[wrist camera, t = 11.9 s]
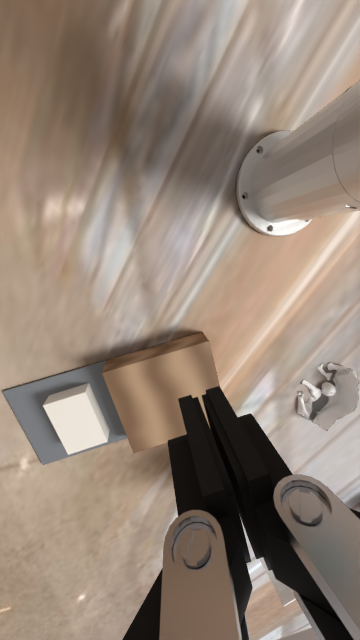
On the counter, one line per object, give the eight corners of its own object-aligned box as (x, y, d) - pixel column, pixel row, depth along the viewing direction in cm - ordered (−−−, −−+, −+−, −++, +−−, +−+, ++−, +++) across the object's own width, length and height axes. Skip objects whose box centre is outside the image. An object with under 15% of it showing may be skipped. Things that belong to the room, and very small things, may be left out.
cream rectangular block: (42, 405, 34) (49, 395, 37) (68, 454, 37) (72, 442, 39) (85, 392, 35) (88, 382, 37) (107, 441, 37) (109, 430, 40)
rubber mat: (106, 360, 37) (105, 361, 37) (134, 434, 41) (134, 435, 41) (3, 390, 36) (2, 391, 35) (43, 463, 40) (42, 465, 40)
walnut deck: (202, 331, 38) (209, 340, 34) (220, 406, 42) (228, 422, 38) (106, 360, 37) (102, 373, 33) (134, 434, 41) (133, 453, 37)
